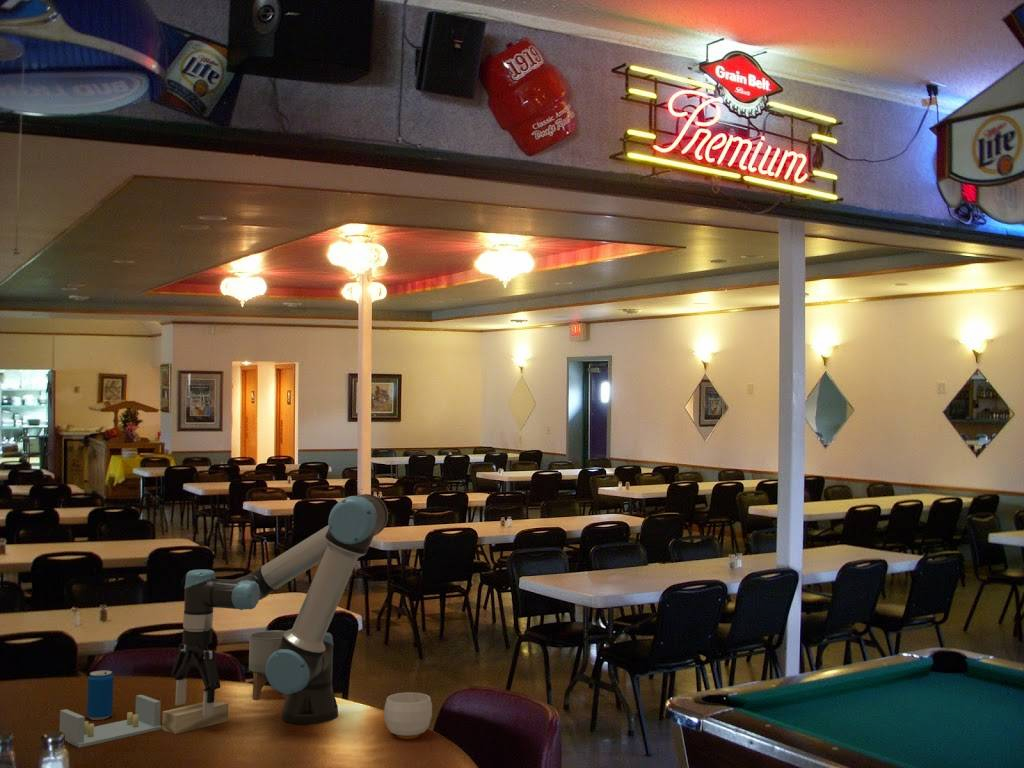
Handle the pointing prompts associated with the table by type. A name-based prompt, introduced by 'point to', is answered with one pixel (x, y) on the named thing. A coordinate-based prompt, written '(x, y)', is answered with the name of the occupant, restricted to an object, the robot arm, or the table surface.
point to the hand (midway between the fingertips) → (193, 709)
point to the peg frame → (111, 724)
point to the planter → (262, 657)
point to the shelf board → (193, 717)
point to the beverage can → (100, 695)
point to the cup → (408, 714)
